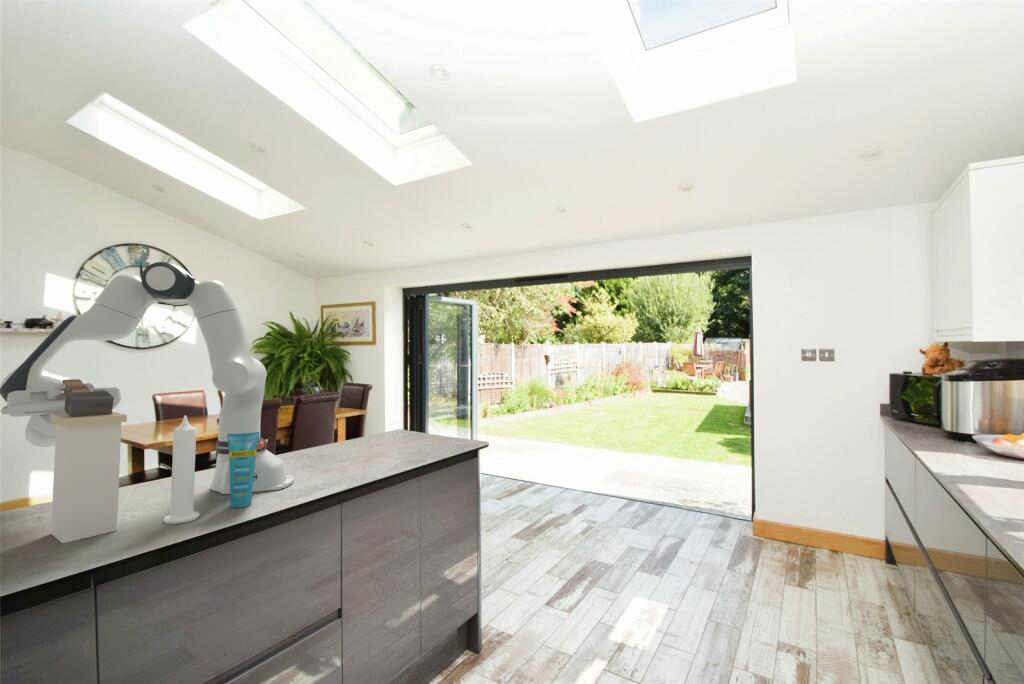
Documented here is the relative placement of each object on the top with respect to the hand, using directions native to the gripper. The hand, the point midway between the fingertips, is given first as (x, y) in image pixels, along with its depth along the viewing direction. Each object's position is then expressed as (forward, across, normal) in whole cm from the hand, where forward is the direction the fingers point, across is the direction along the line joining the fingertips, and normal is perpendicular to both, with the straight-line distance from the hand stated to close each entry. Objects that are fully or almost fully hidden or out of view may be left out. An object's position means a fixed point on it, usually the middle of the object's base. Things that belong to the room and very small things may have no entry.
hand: (75, 386), depth 111 cm
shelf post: (-6, 0, +33) cm, 34 cm away
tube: (+1, +30, +38) cm, 48 cm away
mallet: (+2, 0, +6) cm, 6 cm away
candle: (+1, +16, +37) cm, 41 cm away
